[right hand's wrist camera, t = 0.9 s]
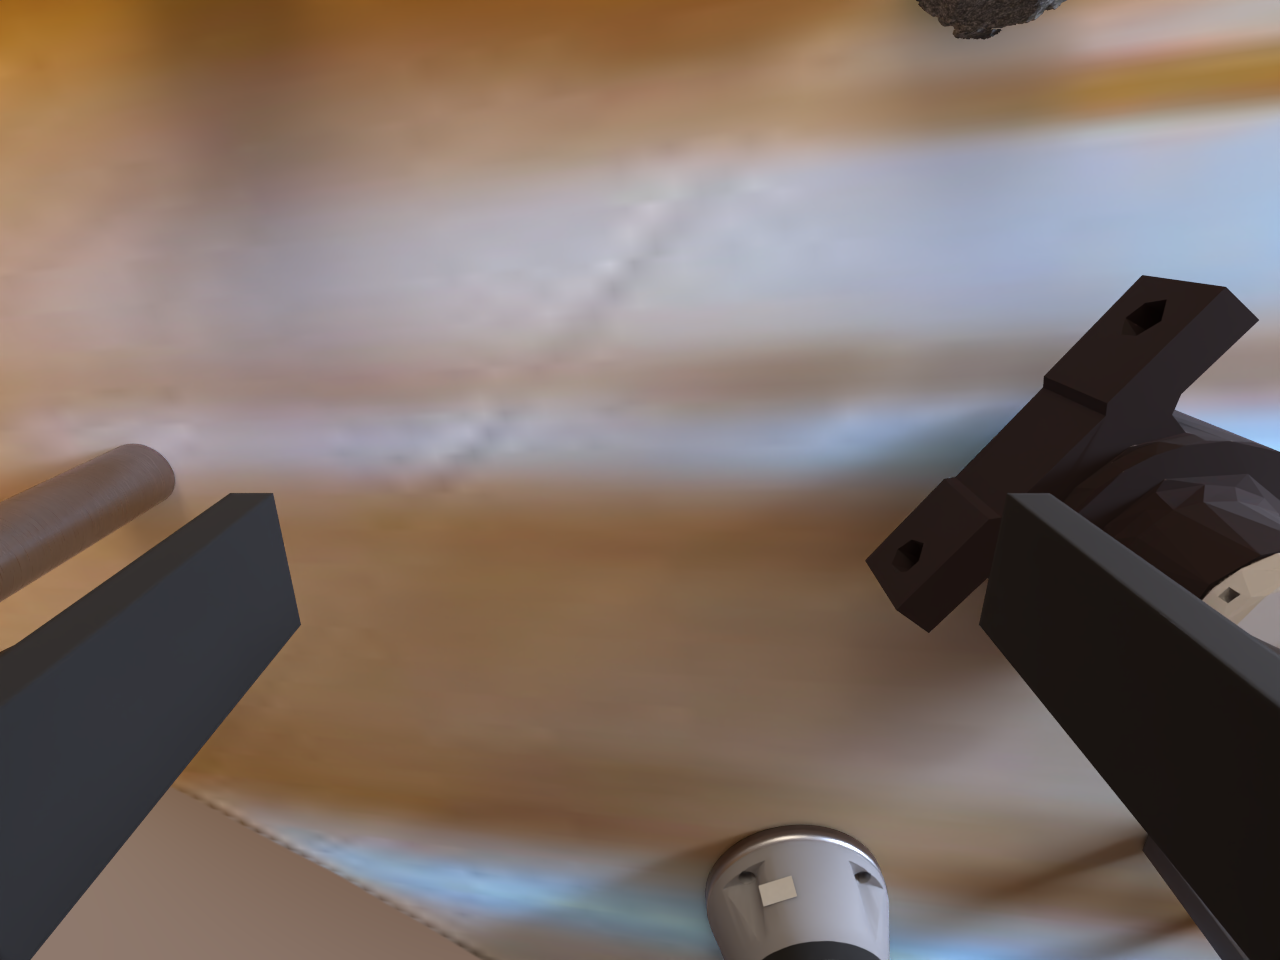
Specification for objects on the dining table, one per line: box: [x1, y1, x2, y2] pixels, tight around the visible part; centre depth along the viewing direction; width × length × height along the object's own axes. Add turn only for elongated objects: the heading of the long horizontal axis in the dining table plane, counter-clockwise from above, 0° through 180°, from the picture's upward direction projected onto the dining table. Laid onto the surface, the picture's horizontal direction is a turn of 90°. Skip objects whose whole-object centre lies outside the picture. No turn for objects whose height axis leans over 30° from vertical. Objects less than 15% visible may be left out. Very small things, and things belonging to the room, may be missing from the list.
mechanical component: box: [865, 275, 1280, 649], centre depth 38 cm, size 22×21×30 cm
